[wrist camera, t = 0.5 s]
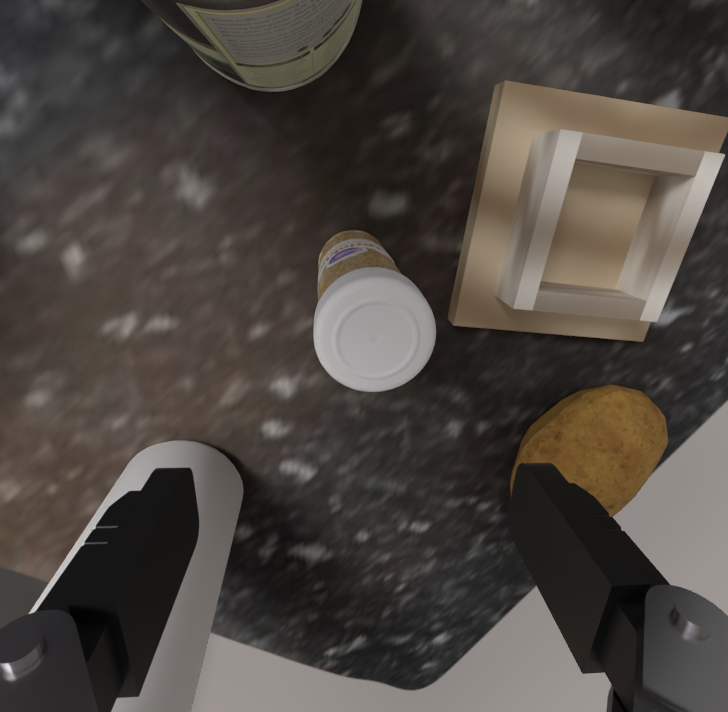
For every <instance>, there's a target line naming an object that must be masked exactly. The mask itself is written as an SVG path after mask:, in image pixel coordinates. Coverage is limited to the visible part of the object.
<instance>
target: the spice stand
mask: <svg viewBox="0 0 728 712" xmlns="http://www.w3.org/2000/svg"><path fill="white" fill-rule="evenodd" d="M727 131H728V117H722V116H716V115H710V114H704V113H698V112H692V111H686V110H680V109H674V108H668V107H662V106H656V105H650V104H644V103H638V102H632V101H626V100H620V99H614V98H608V97H602V96H596V95H590V94H584V93H578V92H572V91H566V90H560V89H554V88H548V87H542V86H536V85H530V84H524V83H518V82H512V81H506V80H505V81H503V82H501V83H499V84H497V85H495V87H494V92H493V96H492V101H491V106H490V111H489V116H488V121H487V126H486V131H485V136H484V141H483V145H482V150H481V155H480V160H479V165H478V170H477V175H476V180H475V185H474V190H473V194H472V199H471V204H470V209H469V214H468V219H467V224H466V229H465V234H464V239H463V244H462V248H461V253H460V258H459V263H458V268H457V273H456V278H455V283H454V288H453V293H452V297H451V302H450V307H449V312H448V317H447V319H448V320H449V321H450V322H451V323H452V325H453V326H464V327H476V328H488V329H499V330H511V331H523V332H535V333H546V334H558V335H570V336H581V337H593V338H605V339H617V340H628V341H640V342H643V341H644V338H645V336H646V333H647V331H648V328H649V326H650V323H651V322H657V321H658V319H659V316H660V314H661V311H662V309H663V306H664V304H665V301H666V299H667V296H668V294H669V292H670V289H671V287H672V284H673V282H674V279H675V277H676V274H677V272H678V269H679V267H680V265H681V262H682V260H683V257H684V255H685V252H686V250H687V247H688V245H689V242H690V240H691V237H692V235H693V233H694V230H695V228H696V225H697V223H698V220H699V218H700V215H701V213H702V210H703V208H704V206H705V203H706V201H707V198H708V196H709V193H710V191H711V188H712V186H713V183H714V181H715V178H716V176H717V174H718V171H719V169H720V166H721V164H722V161H723V159H724V156H725V154H720V153H719V151H720V149H721V146H722V144H723V141H724V139H725V136H726V134H727Z"/></svg>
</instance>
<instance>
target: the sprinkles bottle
mask: <svg viewBox="0 0 728 712" xmlns="http://www.w3.org/2000/svg"><path fill="white" fill-rule="evenodd" d="M318 270H319V273H318V305H317V307H316V311H315V316H314V345H315V349H316V353H317V356H318V358H319V360H320V362H321V364H322V366H323V367H324V368H325V370H326V371H327V372H328V373H329V374H330V375H331V376H332V377H333V378H334V379H335V380H337V381H338V382H340V383H341V384H343V385H345V386H347V387H350V388H352V389H355V390H360V391H366V392H380V391H386V390H390V389H393V388H396V387H399V386H401V385H403V384H405V383H406V382H408V381H409V380H411V379H412V378H414V377H415V376H416V375H417V374H418V373H419V372H420V371H421V370H422V369H423V367H424V366H425V365H426V363H427V362H428V360H429V358H430V356H431V354H432V351H433V348H434V345H435V340H436V323H435V319H434V315H433V312H432V310H431V308H430V306H429V304H428V302H427V301H426V299H425V298H424V296H423V295H422V293H421V292H420V290H419V289H418V288H417V287H416V285H415V284H414V283H413V282H412V281H410V280H409V279H408V278H407V277H405V276H404V275H402V274H401V272H400V271H399V270H398V268H397V267H396V266H395V263H394V261H393V260H392V258H391V257H390V256H389V254H388V253H387V252H386V251H385V250H384V248H383V246H382V245H381V244H380V242H379V241H378V240H377V239H376V238H375V237H373V236H372V235H370V234H368V233H366V232H364V231H358V230H350V231H343V232H340V233H338V234H336V235H334V236H333V237H332V238H330V239H329V240H328V241H327V242H326V244H325V245H324V247H323V248H322V250H321V252H320V255H319V259H318Z"/></svg>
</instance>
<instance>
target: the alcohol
mask: <svg viewBox="0 0 728 712" xmlns="http://www.w3.org/2000/svg"><path fill="white" fill-rule="evenodd" d="M156 468H191V470H192V472H193V477H194V484H195V492H196V499H197V506H198V513H199V534H198V540H197V544H196V547H195V550H194V553H193V555H192V558H191V560H190V563H189V566H188V568H187V571H186V574H185V576H184V579H183V582H182V584H181V587H180V589H179V592H178V595H177V597H176V600H175V603H174V605H173V608H172V611H171V613H170V616H169V618H168V621H167V624H166V626H165V629H164V632H163V634H162V637H161V640H160V642H159V645H158V647H157V650H156V653H155V655H154V658H153V661H152V663H151V666H150V669H149V671H148V674H147V676H146V679H145V682H144V684H143V687H142V690H141V692H140V695H139V697H126V698H117V699H116V701H115V704H114V706H113V708H112V711H111V712H191V709H192V704H193V701H194V697H195V692H196V688H197V684H198V680H199V676H200V672H201V668H202V664H203V659H204V656H205V651H206V647H207V643H208V639H209V635H210V631H211V627H212V623H213V619H214V614H215V610H216V606H217V602H218V598H219V594H220V590H221V586H222V582H223V577H224V573H225V569H226V565H227V561H228V557H229V553H230V549H231V545H232V540H233V536H234V532H235V528H236V524H237V520H238V516H239V512H240V508H241V503H242V499H243V492H244V491H243V483H242V480H241V477H240V474H239V473H238V471H237V469H236V468H235V466H234V465H233V464H232V462H231V461H230V460H229V459H228V458H227V457H226V456H225V455H224V454H223V453H221V452H220V451H218V450H217V449H215V448H213V447H211V446H209V445H207V444H204V443H201V442H197V441H190V440H174V441H169V442H164V443H159V444H156V445H153V446H150V447H148V448H146V449H144V450H143V451H141V452H139V453H138V454H137V455H136V456H135V457H134V458H133V459H132V460H131V461H130V462H129V464H128V465H127V467H126V468H125V470H124V471H123V473H122V474H121V476H120V477H119V479H118V480H117V482H116V483H115V485H114V486H113V488H112V489H111V491H110V492H109V494H108V495H107V497H106V498H105V500H104V501H103V503H102V504H101V506H100V507H99V509H98V510H97V512H96V513H95V515H94V516H93V518H92V519H91V521H90V522H89V524H88V525H87V527H86V528H85V530H84V531H83V533H82V534H81V536H80V537H79V539H78V540H77V542H76V543H75V545H74V546H73V548H72V549H71V551H70V552H69V554H68V555H67V557H66V558H65V560H64V561H63V563H62V564H61V566H60V567H59V569H58V570H57V572H56V573H55V575H54V577H53V578H52V580H51V581H50V583H49V584H48V586H47V587H46V589H45V590H44V592H43V593H42V595H41V596H40V598H39V599H38V601H37V602H36V604H35V605H34V607H33V608H32V610H31V611H30V613H29V614H31V613H34V612H35V611H36V610H37V609H38V607H39V606H40V604H41V603H42V601H43V600H44V599H45V597H46V596H47V594H48V593H49V591H50V590H51V589H52V587H53V586H54V584H55V583H56V581H57V580H58V579H59V577H60V576H61V574H62V573H63V572H64V570H65V569H66V567H67V566H68V564H69V563H70V562H71V560H72V559H73V557H74V556H75V554H76V553H77V552H78V550H79V549H80V547H81V546H84V543H85V540H86V539H87V537H88V536H89V534H90V533H91V532H92V530H93V529H95V528H96V524H97V523H98V522H99V520H100V519H101V517H102V516H103V514H104V513H105V512H106V510H107V509H108V507H109V506H111V505H112V504H113V503H114V502H116V501H117V500H118V499H120V498H121V497H122V496H123V495H125V494H126V493H127V492H129V491H141V489H142V488H143V486H144V484H145V483H146V481H147V480H148V478H149V477H150V475H151V473H152V472H153V471H154V470H155V469H156Z"/></svg>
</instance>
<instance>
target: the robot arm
mask: <svg viewBox="0 0 728 712" xmlns="http://www.w3.org/2000/svg"><path fill="white" fill-rule="evenodd" d="M508 526H509V530H510V534H511V537H512V539H513V541H514V543H515V545H516V547H517V549H518V550H519V552H520V554H521V556H522V558H523V560H524V562H525V564H526V566H527V568H528V570H529V572H530V574H531V575H532V577H533V579H534V581H535V583H536V585H537V587H538V589H539V591H540V593H541V595H542V597H543V598H544V600H545V602H546V604H547V606H548V608H549V610H550V612H551V614H552V616H553V618H554V620H555V622H556V624H557V625H558V627H559V629H560V631H561V633H562V635H563V637H564V639H565V641H566V643H567V644H568V647H569V648H570V651H571V652H572V654H573V656H574V658H575V660H576V662H577V664H578V666H579V668H580V670H581V672H582V673H584V674H585V673H601V672H605V673H606V675H607V677H608V679H609V681H610V682H611V684H612V685H611V688H610V690H609V694H608V702H607V712H728V616H727V615H726V614H725V613H724V612H723V611H722V610H721V609H719V608H718V607H717V606H716V605H714V604H713V603H712V602H710V601H708V600H707V599H706V598H704V597H702V596H700V595H698V594H696V593H694V592H692V591H690V590H687V589H684V588H681V587H677V586H673V585H670V584H669V583H668V582H667V580H666V579H665V578H664V577H663V576H662V575H661V573H660V572H659V571H658V570H657V569H656V568H655V566H654V565H653V564H652V563H651V562H650V561H649V559H648V558H647V557H646V556H645V555H644V554H643V552H642V551H641V550H640V549H639V548H638V547H637V545H636V544H635V543H634V542H633V541H632V540H631V538H630V537H629V536H628V535H627V534H626V533H625V531H622V530H621V527H620V526H619V524H617V522H616V521H615V520H614V519H613V517H610V516H609V513H608V512H607V510H606V509H605V508H604V507H603V506H602V505H601V504H600V502H599V501H598V500H597V499H596V498H595V497H594V496H593V495H591V494H590V493H588V492H587V491H586V490H584V489H583V488H581V487H580V486H578V485H577V484H575V483H569V482H568V481H567V480H566V479H565V477H564V476H563V475H562V474H561V473H560V471H559V470H558V469H557V468H556V466H555V465H554V464H552V463H521V464H519V465H518V467H517V469H516V474H515V479H514V484H513V489H512V494H511V499H510V504H509V509H508ZM198 534H199V513H198V506H197V499H196V492H195V484H194V477H193V472H192V470H191V468H156V469H155V470H154V471H153V472H152V473H151V475H150V477H149V478H148V480H147V481H146V483H145V484H144V486H143V488H142V489H141V491H129V492H127V493H126V494H125V495H123V496H122V497H121V498H120V499H118V500H117V501H116V502H114V503H113V504H112V505H111V506H109V507H108V509H107V510H106V512H105V513H104V514H103V516H102V517H101V519H100V520H99V522H98V523H97V524H96V528H95V529H93V530H92V532H91V533H90V534H89V536H88V537H87V539H86V540H85V543H84V546H81V547H80V549H79V550H78V552H77V553H76V554H75V556H74V557H73V559H72V560H71V562H70V563H69V564H68V566H67V567H66V569H65V570H64V572H63V573H62V574H61V576H60V577H59V579H58V580H57V581H56V583H55V584H54V586H53V587H52V589H51V590H50V591H49V593H48V594H47V596H46V597H45V599H44V600H43V601H42V603H41V604H40V606H39V607H38V609H37V610H36V611H35V612H34V613H31V614H28V615H25V616H23V617H21V618H18V619H16V620H14V621H12V622H11V623H9V624H7V625H6V626H4V627H3V628H1V629H0V712H111V711H112V708H113V706H114V704H115V701H116V699H117V698H126V697H139V695H140V692H141V690H142V687H143V684H144V682H145V679H146V676H147V674H148V671H149V669H150V666H151V663H152V661H153V658H154V655H155V653H156V650H157V647H158V645H159V642H160V640H161V637H162V634H163V632H164V629H165V626H166V624H167V621H168V618H169V616H170V613H171V611H172V608H173V605H174V603H175V600H176V597H177V595H178V592H179V589H180V587H181V584H182V582H183V579H184V576H185V574H186V571H187V568H188V566H189V563H190V560H191V558H192V555H193V553H194V550H195V547H196V544H197V540H198Z"/></svg>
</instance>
